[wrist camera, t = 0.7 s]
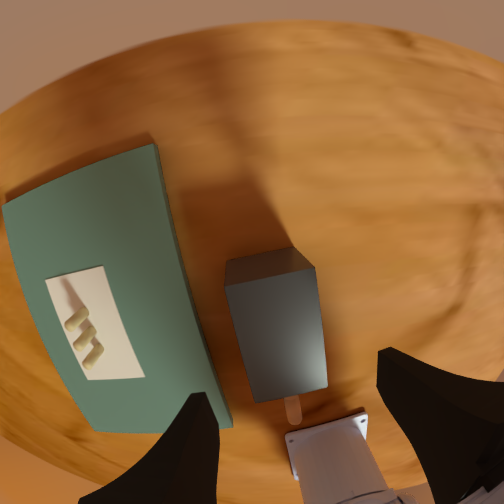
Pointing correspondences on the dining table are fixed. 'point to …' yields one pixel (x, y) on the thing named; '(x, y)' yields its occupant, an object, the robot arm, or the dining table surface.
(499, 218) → the dining table surface
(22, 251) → the board
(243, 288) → the block
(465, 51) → the dining table surface
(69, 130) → the dining table surface
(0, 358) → the dining table surface
